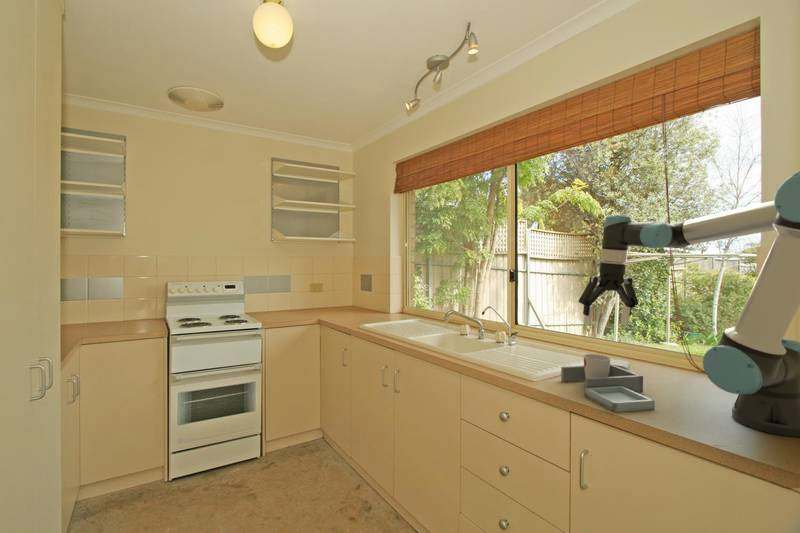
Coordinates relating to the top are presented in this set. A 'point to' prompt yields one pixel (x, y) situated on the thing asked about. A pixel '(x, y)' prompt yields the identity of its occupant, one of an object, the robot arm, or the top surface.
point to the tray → (619, 399)
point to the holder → (604, 378)
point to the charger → (620, 364)
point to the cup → (596, 365)
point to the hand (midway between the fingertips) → (605, 325)
